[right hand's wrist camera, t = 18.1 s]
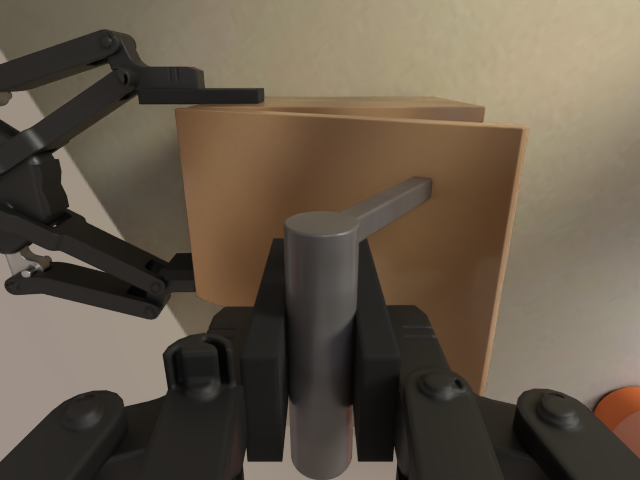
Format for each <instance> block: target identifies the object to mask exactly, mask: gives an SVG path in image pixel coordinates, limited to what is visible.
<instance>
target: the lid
mask: <svg viewBox="0 0 640 480" xmlns="http://www.w3.org/2000/svg"><path fill="white" fill-rule="evenodd" d="M175 116H176V124H177V133H178V141H179V150H180V158H181V167H182V175H183V184H184V192H185V201H186V209H187V218H188V226H189V235H190V243H191V252H192V260H193V269H194V277H195V286H196V294H197V297H199V298H201V299H204V300H206V301H209V302H212V303H214V304H217V305H219V306H222V307H226V306H254V304H255V300H256V297H257V293H258V290H259V286H260V283H261V279H262V276H263V272H264V269H265V265H266V262H267V258H268V255H269V251H270V248H271V244H272V241H273V238H284V260H285V289H286V319H287V348H288V378H289V407H290V436H291V458H292V462H293V464H294V466H295V467H296V469H297V470H298V471H299V472H300V473H301V474H303V475H304V476H306V477H308V478H311V479H315V480H328V479H332V478H335V477H337V476H339V475H340V474H342V473H343V472H344V471H345V470H346V469H347V468H348V466H349V464H350V462H351V459H352V439H353V427H354V425H355V424H354V414H353V375H354V345H355V316H356V309H357V289H358V259H359V243H360V242H362V241H363V240H365V239H366V238H367V240H368V243H369V247H370V250H371V254H372V257H373V260H374V264H375V267H376V271H377V274H378V278H379V281H380V285H381V288H382V292H383V295H384V299H385V302H386V305H415V306H417V307H418V308H419V309H420V310H421V311H423V312H424V313H425V314H426V315H427V317H428V319H429V321H430V323H431V326H432V328H433V330H434V332H435V335H436V338H437V339H438V341H439V344H440V346H441V348H442V350H443V353H444V355H445V357H446V359H447V362H448V364H449V366H450V368H451V371H453V372H455V373H457V374H459V375H460V376H461V377H463V378H464V379H465V380H466V381H467V382H468V384H469V385H470V387H471V388H472V390H473V393H475V394H477V395H480V396H482V395H483V393H484V391H485V388H486V382H487V376H488V370H489V364H490V358H491V352H492V346H493V341H494V335H495V329H496V323H497V317H498V311H499V305H500V299H501V293H502V287H503V281H504V275H505V269H506V263H507V258H508V252H509V246H510V240H511V234H512V228H513V222H514V216H515V210H516V204H517V198H518V192H519V186H520V180H521V175H522V169H523V163H524V157H525V151H526V145H527V139H528V133H529V125H517V124H498V123H479V122H461V121H442V120H423V119H404V118H385V117H366V116H348V115H329V114H310V113H291V112H272V111H253V110H235V109H216V108H197V107H189V108H176V109H175Z"/></svg>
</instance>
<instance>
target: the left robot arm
mask: <svg viewBox="0 0 640 480" xmlns="http://www.w3.org/2000/svg"><path fill="white" fill-rule="evenodd" d="M108 63H109V64H110V66H111V69H112V70H113V71H112V72H111V73H110V74H108V75H107V76H105V77H104V78H102V79H101V80H99V81H98V82H96V83H95V84H94V85H92V86H91V87H89V88H88V89H86V90H85V91H83V92H82V93H80V94H79V95H78V96H76V97H75V98H73V99H72V100H70V101H69V102H67V103H66V104H65V105H63V106H62V107H60V108H59V109H57V110H56V111H54V112H53V113H51V114H50V115H49V116H47V117H46V118H44V119H43V120H41V121H40V122H39V123H37V124H36V125H34V126H32V127H31V128H29V129H26V130H24V131H22V132H19V131H18V130H16V129H15V128H13V127H12V126H10V125H8V124H7V123H5V122H4V121H2V120H0V253H2V254H5V255H6V258H7V261H8V264H9V267H10V269H11V272H12V275H13V276H12V277H10V278H9V279H7V280H6V281H5V284H4V285H5V288H6V290H7V291H8V292H9V293H11V294H13V295H26V294H46V295H51V296H55V297H59V298H63V299H67V300H71V301H76V302H80V303H84V304H88V305H92V306H96V307H100V308H104V309H108V310H112V311H116V312H121V313H125V314H129V315H133V316H137V317H141V318H145V319H151V320H152V319H155V318H157V317H158V315H159V314H160V313H161V311H162V310H163V308H164V307H165V305H166V304H167V302H168V301H169V299H170V297H171V293H172V292H196V286H195V277H194V269H193V260H192V253H176V254H175V256H174V257H173V258H172V259H171V261H170V262H169V263H168V262H166V261H164V260H162V259H160V258H158V257H156V256H154V255H152V254H150V253H148V252H146V251H144V250H141V249H139V248H137V247H135V246H133V245H131V244H129V243H127V242H125V241H123V240H121V239H119V238H117V237H115V236H113V235H111V234H109V233H107V232H105V231H103V230H101V229H99V228H97V227H95V226H93V225H91V224H89V223H87V222H86V220H85V218H84V217H83V216H81V215H79V214H77V213H75V212H73V211H71V210H69V209H67V208H68V207H69V204H68V199H67V195H66V193H65V191H64V189H63V187H62V185H61V167H60V162H59V159H54V157H53V156H52V153H54V152H55V151H57V150H58V149H60V148H61V147H63V146H64V145H66V144H67V143H68V142H69V140H71V139H72V138H73V137H75V136H76V135H78V134H79V133H81V132H82V131H84V130H85V129H87V128H88V127H90V126H91V125H93V124H94V123H96V122H97V121H99V120H100V119H102V118H103V117H105V116H106V115H108V114H109V113H111V112H112V111H114V110H115V109H117V108H118V107H120V106H121V105H123V104H124V103H126V102H127V101H129V100H130V99H132V98H133V97H135V96H136V95H138V97H139V104H259V103H261V102H264V88H205V84H204V73H203V71H202V70H200V69H197V68H195V67H150V66H147V65H146V64H144V63H143V62H142V61H141V59H140V57H139V55H138V53H137V51H136V43H135V41H134V39H133V38H132V37H131V36H130V35H128V34H124V33H120V32H115V31H110V30H106V29H105V30H100V31H97V32H94V33H91V34H88V35H85V36H82V37H79V38H76V39H73V40H70V41H67V42H64V43H61V44H58V45H56V46H53V47H50V48H47V49H44V50H41V51H38V52H35V53H32V54H29V55H26V56H23V57H20V58H17V59H14V60H12V61H9V62H6V63H3V64H0V106H4V105H6V104H7V103H8V102H9V100H10V99H11V98H12V94H11V92H14V91H25V90H29V89H33V88H36V87H39V86H42V85H45V84H48V83H51V82H54V81H57V80H60V79H63V78H66V77H69V76H72V75H75V74H78V73H81V72H84V71H87V70H90V69H93V68H96V67H99V66H102V65H105V64H108ZM54 225H57V226H55V227H53V226H54ZM32 243H34V244H36V245H38V246H41V247H43V248H45V249H47V250H51V251H62V252H64V253H67V254H69V255H71V256H73V257H75V258H77V259H79V260H81V261H83V262H86V263H88V264H90V265H92V266H94V267H96V268H98V269H100V270H102V271H104V272H101V271H98V270H94V269H90V268H86V267H82V266H78V265H74V264H69V263H64V262H52V259H51V258H50V257H49V256H44V257H43V256H39V255H35V254H34V253H32V252H31V251H30V249H29V247H28V246H30V245H31V244H32ZM106 272H107V273H106Z"/></svg>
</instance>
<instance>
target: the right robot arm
mask: <svg viewBox="0 0 640 480" xmlns="http://www.w3.org/2000/svg"><path fill="white" fill-rule="evenodd" d="M163 360H164V366H165V373H166V379H167V385H168V391H167V394H166V395H165V396H163V397H160V398H158V399H155V400H151V401H148V402H143V403H139V404H134V405H130V406H126V407H124V403H123V400H122V398H121V397H120V396H119V395H118V394H117V393H114V392H110V391H107V390H102V391H90V392H87V393H83V394H79V395H77V396H75V397H72V398H70V399H68V400H66V401H64V402H63V403H62V404H60V405H59V406H58V407H56V408H55V409H54V410H53V411H51V412H50V413H49V414H48V415H47V416H46V417H45V418H44V419H43V420H42V421H41V422H40V423H39V424H38V425H37V426H36V427H35V428H34V429H33V430H32V431H31V432H30V433H29V434H28V435H27V436H26V437H25V438H24V439H23V440H22V441H21V442H20V443H19V444H18V445H17V446H16V447H15V448H14V449H13V450H12V451H11V452H10V453H9V454H8V455H7V456H6V457H5V458H4V459H3V460H2V461H1V462H0V480H244V473H243V461H244V456H245V451H246V448H247V460H248V462H282V459H283V449H284V438H285V429H286V418H287V408H288V398H289V378H288V348H287V319H286V289H285V260H284V238H273V241H272V244H271V248H270V251H269V255H268V258H267V262H266V265H265V269H264V272H263V276H262V279H261V283H260V286H259V290H258V293H257V297H256V300H255V304H254V306H226V307H224V308H223V309H222V310H221V311H220V312H218V313H217V314H216V315H215V316H214V317H213V319H212V322H211V324H210V326H209V330H208V331H207V333H202V334H195V335H190V336H187V337H185V338H182V339H179V340H177V341H176V342H174V343H173V344H171V345H170V346H168V348H167V349H166V350H165V352H164V353H163ZM353 414H354V424H355V435H356V445H357V455H358V461H359V462H360V461H361V462H392V461H393V453H394V447H395V452H396V457H397V473H396V480H640V458H639V457H638V456H636V455H635V454H634V453H633V452H632V451H631V450H630V449H629V448H628V447H627V446H626V445H625V444H624V443H623V442H622V441H621V440H620V439H619V438H618V437H617V436H616V435H615V434H614V433H613V432H612V431H611V430H610V429H609V428H608V427H607V426H606V425H605V424H604V423H603V422H602V421H601V420H600V419H599V418H598V417H597V416H596V415H595V414H594V413H593V412H592V411H591V410H590V409H588V408H587V407H586V406H584V405H583V404H582V403H581V402H579V401H578V400H576V399H574V398H572V397H570V396H568V395H566V394H564V393H561V392H557V391H554V390H550V389H531V390H528V391H525V392H523V393H522V394H521V395H520V396H519V398H518V401H517V405H514V404H509V403H505V402H501V401H496V400H492V399H489V398H485V397H482V396H480V395H477V394H475V393H473V390H472V388H471V387H470V385H469V384H468V382H467V381H466V380H465V379H464V378H463V377H461V376H460V375H459V374H457V373H455V372H453V371H451V368H450V366H449V364H448V362H447V359H446V357H445V355H444V353H443V350H442V348H441V346H440V344H439V341H438V339H437V338H436V335H435V332H434V330H433V328H432V326H431V323H430V321H429V319H428V317H427V315H426V314H425V313H424V312H423V311H421V310H420V309H419V308H418V307H417V306H415V305H386V302H385V299H384V295H383V292H382V288H381V285H380V281H379V278H378V274H377V271H376V267H375V264H374V260H373V257H372V254H371V250H370V247H369V243H368V240H367V238H366V239H365V240H363V241H362V242H360V243H359V259H358V289H357V309H356V316H355V345H354V375H353Z"/></svg>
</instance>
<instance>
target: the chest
mask: <svg viewBox="0 0 640 480" xmlns="http://www.w3.org/2000/svg"><path fill="white" fill-rule="evenodd" d="M191 107H197V108H216V109H235V110H253V111H272V112H291V113H310V114H329V115H348V116H366V117H385V118H404V119H423V120H442V121H461V122H479V123H482V122H483V121H484V113H485V107H483V106H477V105H472V104H467V103H462V102H457V101H452V100H447V99H442V98H436V97H264V102H261V103H259V104H200V105H195V106H191ZM188 108H189V107H188Z"/></svg>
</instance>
